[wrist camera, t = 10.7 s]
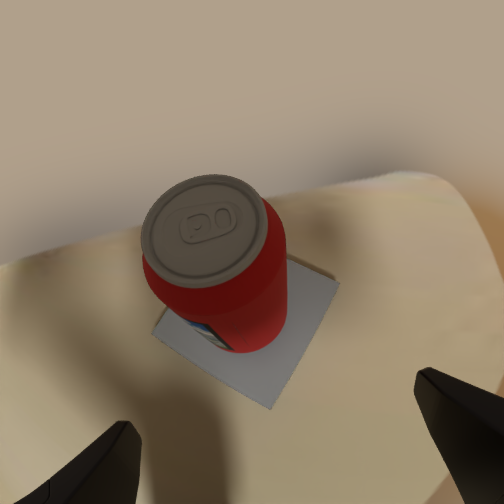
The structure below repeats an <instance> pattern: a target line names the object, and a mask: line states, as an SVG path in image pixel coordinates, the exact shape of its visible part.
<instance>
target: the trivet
mask: <svg viewBox="0 0 504 504" xmlns="http://www.w3.org/2000/svg"><path fill="white" fill-rule="evenodd" d="M339 284H340V283H338V282H336V281H334V280H332V279H330V278H328V277H326V276H324V275H321V274H319V273H317V272H315V271H313V270H311V269H309V268H307V267H304V266H302V265H300V264H298V263H296V262H294V261H292V260H289V259H287V290H288V300H287V317H286V321H285V324H284V326H283V328H282V330H281V332H280V333H279V334H278V336H277V337H276V338H275V339H274V340H273V341H272V342H271V343H270V344H268V345H267V346H265V347H263V348H261V349H259V350H257V351H254V352H249V353H232V352H228V351H225V350H222V349H220V348H218V347H217V346H215V345H214V344H213V343H211V342H210V341H208V340H207V339H206V338H204V337H203V336H202V335H201V334H199V333H198V332H197V331H196V330H194V329H193V328H192V327H191V326H189V325H188V324H187V323H186V322H185V321H183V320H182V319H181V318H180V317H179V316H178V315H177V314H175V313H174V312H173V311H172V310H171V309H170V308H168V310H167V311H166V312H165V314H164V315H163V317H162V318H161V320H160V321H159V323H158V324H157V326H156V327H155V329H154V330H153V332H152V333H151V334H152V335H154V336H155V337H156V338H158V339H159V340H161V341H162V342H163V343H165V344H166V345H167V346H169V347H170V348H172V349H173V350H174V351H176V352H177V353H179V354H180V355H182V356H183V357H185V358H186V359H187V360H189V361H190V362H192V363H193V364H195V365H196V366H198V367H199V368H201V369H202V370H204V371H206V372H207V373H209V374H210V375H212V376H213V377H215V378H216V379H218V380H220V381H221V382H223V383H225V384H226V385H228V386H229V387H231V388H233V389H234V390H236V391H238V392H239V393H241V394H243V395H245V396H246V397H248V398H250V399H252V400H253V401H255V402H257V403H259V404H260V405H262V406H264V407H266V408H268V409H271V408H272V407H273V405H274V403H275V402H276V400H277V399H278V397H279V395H280V394H281V392H282V390H283V389H284V387H285V385H286V384H287V382H288V380H289V379H290V377H291V375H292V374H293V372H294V370H295V368H296V367H297V365H298V363H299V361H300V360H301V358H302V356H303V354H304V352H305V351H306V349H307V347H308V345H309V343H310V342H311V340H312V338H313V336H314V334H315V332H316V330H317V328H318V327H319V325H320V323H321V321H322V319H323V317H324V315H325V313H326V311H327V309H328V307H329V305H330V303H331V301H332V299H333V297H334V295H335V293H336V291H337V289H338V287H339Z"/></svg>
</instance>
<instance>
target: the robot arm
mask: <svg viewBox="0 0 504 504" xmlns="http://www.w3.org/2000/svg"><path fill="white" fill-rule="evenodd" d="M414 395H415V398H416V400H417V403H418V405H419V408H420V410H421V413H422V415H423V418H424V420H425V423H426V425H427V428H428V430H429V433H430V435H431V437H432V439H433V440H434V442H435V444H436V446H437V448H438V450H439V452H440V454H441V456H442V458H443V460H444V462H445V463H446V465H447V467H448V469H449V471H450V473H451V475H452V477H453V480H454V481H455V484H456V486H457V488H458V490H459V492H460V494H461V496H462V498H463V501H464V503H465V504H504V398H502V397H500V396H498V395H495V394H493V393H490V392H488V391H485V390H483V389H481V388H478V387H476V386H473V385H471V384H469V383H466V382H464V381H461V380H459V379H457V378H454V377H452V376H450V375H447V374H445V373H443V372H440V371H438V370H436V369H434V368H431V367H427V368H424V369H422V370H419V371H418V372H417V375H416V380H415V385H414ZM141 446H142V440H141V437H140V435H139V433H138V432H137V431H136V429H135V428H134V426H133V425H132V423H131V422H130V421H117V422H116V423H115V424H113V425H112V426H111V427H110V428H109V429H108V430H107V431H105V432H104V433H103V434H102V435H101V436H100V437H98V438H97V439H96V440H95V441H94V442H93V443H91V444H90V445H89V446H88V447H87V448H86V449H84V450H83V451H82V452H81V453H80V454H79V455H77V456H76V457H75V458H74V459H73V460H71V461H70V462H69V463H68V464H67V465H65V466H64V467H63V468H62V469H61V470H59V471H58V472H57V473H56V474H54V475H53V476H52V477H51V478H50V479H48V480H47V481H46V482H44V483H43V484H42V485H41V486H39V487H38V488H37V489H35V490H34V491H33V492H31V493H30V494H28V495H27V496H25V497H24V498H22V499H20V500H19V501H17V502H15V503H14V504H136V497H137V491H138V485H139V477H140V461H141Z"/></svg>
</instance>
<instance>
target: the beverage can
mask: <svg viewBox="0 0 504 504" xmlns="http://www.w3.org/2000/svg"><path fill="white" fill-rule="evenodd" d="M141 246H142V251H143V256H142V260H143V269H144V273H145V277H146V280H147V282H148V284H149V286H150V288H151V289H152V291H153V292H154V294H155V295H156V296H157V297H158V298H159V299H160V300H161V301H162V302H163V303H164V304H165V305H167V306H168V307H169V308H170V309H171V310H172V311H173V312H174V313H175V314H177V315H178V316H179V317H180V318H181V319H182V320H183V321H185V322H186V323H187V324H188V325H189V326H191V327H192V328H193V329H194V330H196V331H197V332H198V333H199V334H201V335H202V336H203V337H204V338H206V339H207V340H208V341H210V342H211V343H213V344H214V345H215V346H217V347H218V348H220V349H222V350H225V351H228V352H232V353H249V352H254V351H257V350H259V349H261V348H263V347H265V346H267V345H268V344H270V343H271V342H272V341H273V340H274V339H275V338H276V337H277V336H278V334H279V333H280V332H281V330H282V328H283V326H284V324H285V321H286V317H287V300H288V290H287V257H286V239H285V232H284V228H283V225H282V222H281V220H280V218H279V216H278V214H277V213H276V212H275V210H274V209H273V208H272V207H271V205H270V204H269V203H268V202H267V201H265V200H264V199H263V198H262V197H260V196H259V194H258V193H257V192H256V191H255V189H253V188H252V187H251V186H250V185H248V184H247V183H245V182H244V181H242V180H240V179H237V178H234V177H231V176H227V175H217V174H216V175H215V174H214V175H203V176H197V177H194V178H191V179H188V180H185V181H183V182H181V183H179V184H177V185H175V186H174V187H172V188H170V189H169V190H168V191H166V192H165V193H164V194H163V195H162V196H161V197H160V198H159V199H158V200H157V201H156V202H155V203H154V205H153V206H152V208H151V209H150V210H149V212H148V214H147V216H146V218H145V220H144V223H143V227H142V231H141Z"/></svg>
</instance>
